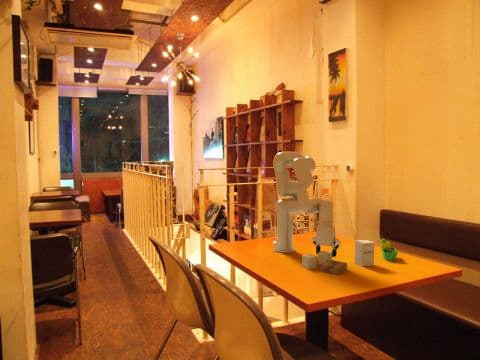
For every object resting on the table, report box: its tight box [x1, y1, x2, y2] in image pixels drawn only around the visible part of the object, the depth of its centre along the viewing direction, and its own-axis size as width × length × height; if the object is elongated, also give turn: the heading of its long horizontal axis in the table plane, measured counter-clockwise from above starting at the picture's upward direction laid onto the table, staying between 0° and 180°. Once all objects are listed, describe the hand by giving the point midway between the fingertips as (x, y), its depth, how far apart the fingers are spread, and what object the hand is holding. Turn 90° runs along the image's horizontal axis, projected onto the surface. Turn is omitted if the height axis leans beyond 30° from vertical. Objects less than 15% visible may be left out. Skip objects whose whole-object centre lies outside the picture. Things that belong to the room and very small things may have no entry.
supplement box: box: [354, 239, 375, 268], centre depth 202 cm, size 7×7×13 cm
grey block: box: [301, 253, 318, 270], centre depth 197 cm, size 6×6×6 cm
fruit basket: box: [379, 238, 399, 262], centre depth 215 cm, size 11×9×11 cm
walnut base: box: [319, 259, 348, 276], centre depth 192 cm, size 10×10×4 cm
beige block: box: [317, 250, 333, 265], centre depth 204 cm, size 6×6×6 cm
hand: (326, 255), depth 204 cm, fingers open, 9 cm apart
